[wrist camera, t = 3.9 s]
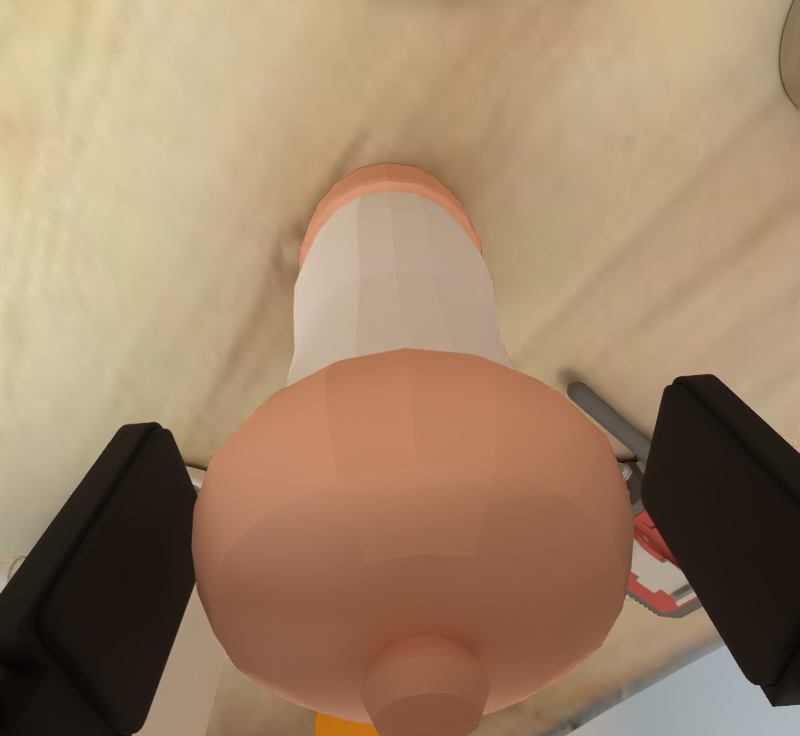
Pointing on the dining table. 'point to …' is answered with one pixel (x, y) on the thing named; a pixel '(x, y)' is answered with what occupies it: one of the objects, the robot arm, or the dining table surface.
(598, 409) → the walkie-talkie
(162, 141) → the dining table surface
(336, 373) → the salt shaker
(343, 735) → the orange juice
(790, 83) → the tin can
